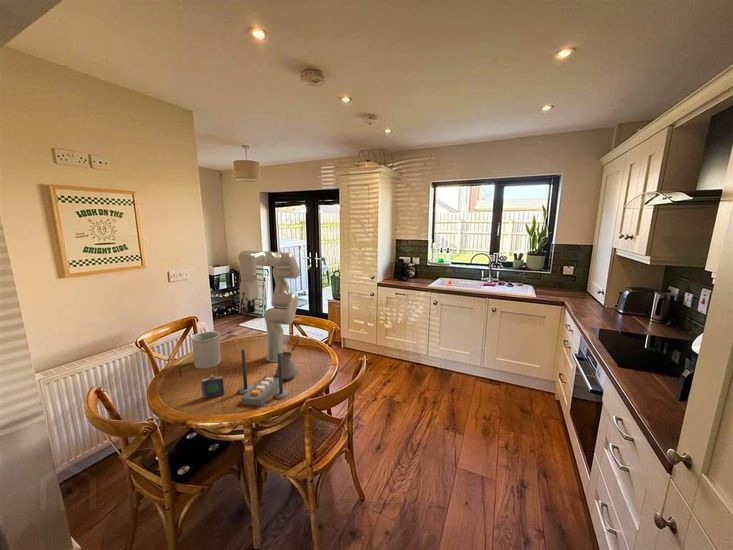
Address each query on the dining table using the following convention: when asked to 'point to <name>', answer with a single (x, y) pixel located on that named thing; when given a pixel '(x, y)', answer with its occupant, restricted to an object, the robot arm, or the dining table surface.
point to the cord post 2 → (280, 382)
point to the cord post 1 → (244, 376)
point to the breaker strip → (261, 391)
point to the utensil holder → (206, 349)
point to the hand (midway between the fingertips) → (251, 312)
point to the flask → (212, 387)
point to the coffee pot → (287, 365)
